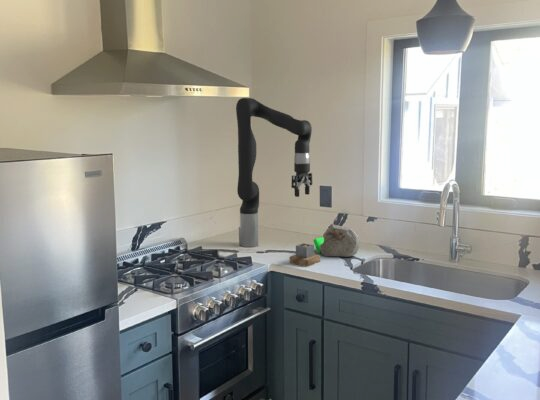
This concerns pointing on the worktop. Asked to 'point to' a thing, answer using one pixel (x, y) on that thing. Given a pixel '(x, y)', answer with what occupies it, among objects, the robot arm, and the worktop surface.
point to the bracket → (318, 243)
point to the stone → (340, 242)
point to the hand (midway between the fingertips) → (302, 195)
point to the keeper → (305, 260)
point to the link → (304, 250)
